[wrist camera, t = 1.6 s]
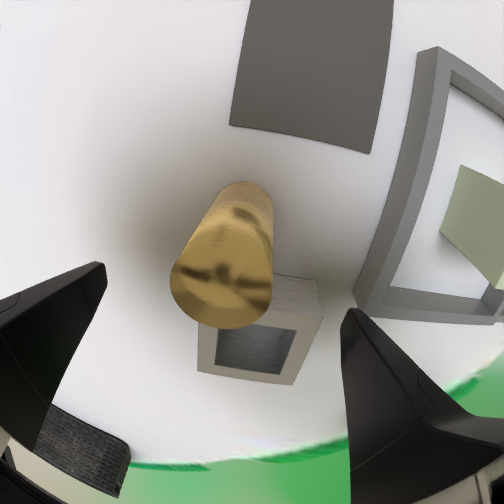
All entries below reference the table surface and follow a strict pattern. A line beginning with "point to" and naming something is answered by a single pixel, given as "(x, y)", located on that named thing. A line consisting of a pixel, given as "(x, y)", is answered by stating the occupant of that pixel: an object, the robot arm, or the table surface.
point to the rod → (228, 260)
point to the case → (411, 197)
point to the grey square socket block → (266, 337)
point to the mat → (314, 69)
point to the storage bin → (83, 451)
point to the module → (478, 223)
